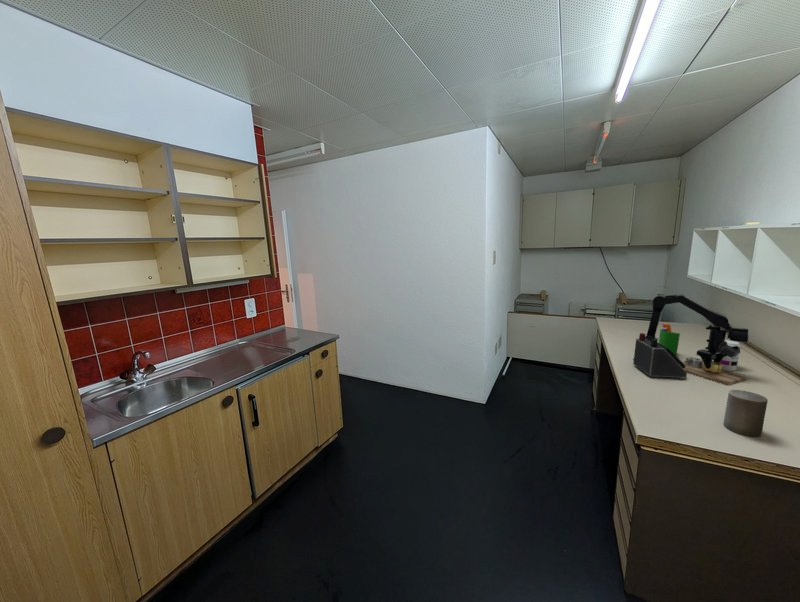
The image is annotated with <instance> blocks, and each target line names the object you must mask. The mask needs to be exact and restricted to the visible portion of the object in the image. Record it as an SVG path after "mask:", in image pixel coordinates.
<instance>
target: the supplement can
mask: <svg viewBox="0 0 800 602" xmlns="http://www.w3.org/2000/svg"><path fill="white" fill-rule="evenodd" d="M725 341H726V342H727V345H728V346H732V347H734V346H738V347H740V348H741V344H740V342H738V341H730V339H725ZM739 357H740V353H739V354H738V355H737V356H736V357H732V358H731V357H729V356H726V357H724V358H723V359H722V361H721V363H720V364H723V365H722V370H724V371H728V372H732V371H733V372H734V371H736V370H737V369H738V364H739Z"/></svg>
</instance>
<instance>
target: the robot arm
mask: <svg viewBox="0 0 800 602" xmlns="http://www.w3.org/2000/svg"><path fill="white" fill-rule="evenodd" d="M679 303H680V304H681V305H683V306H685V307H687V308H688V309H690V310H692V311H694V312H696V313H697V314H700V315H701V316H703V317H704V318H705V319H706V320H707V321H708V322H709V323H710V324H709V325H707V326H705V330H709V335H708V339H706V342H707V346H705V347H704V349H699V350H697V351H696V353H695V354H696V356H699V357H700V359H702V360H703V363H704V364H705V367H706V368H707V369H709V368H710V366H711V363H712V361H714V362H719V363H721V361H722V359H723V358H724V357H726V356H729V357H731V358H732V357H736V356H737V355H738V354H739V355H740V354H741V347H738V346H734V347H732V346H728V345H727V342H726V341H725V340H726V338H727V339H728V340H730V341H735V342H738V343H745V344H746V343H748V341H749V329H748V328H744V327H742V328H741V327H740V328H739V327H733V326H732V324H730V323H729V318H728V317H727V316H726V315H725V314H723V313H720V312H718V311H715V310H711V309H709V308H707V307H705V306H704V305H701V303H698V302H696V301H695V300H693V299H690V298H689V297H687V296H686V295H684V294H671V295H663V294H657V295H655V297H654V298H653V299H652V314H651V318H650V321H649V325H648V329H647V331H646V332H647V333H646V334H645V339H647V340H648V341H650V342H651V339H656V340H658V341H659V338H657V337H656V333H657V330H658V325H659V321H660V318H661V315H662V312H663V309H664V308H665V306H666V305H670V304H671V305H673V304H679ZM726 336H727V337H726ZM632 360H633V361H634V358H633V359H632Z"/></svg>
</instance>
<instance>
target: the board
mask: <svg viewBox="0 0 800 602" xmlns="http://www.w3.org/2000/svg"><path fill="white" fill-rule="evenodd" d="M693 360H697V357H693ZM681 362H682V363H683V364H684V365H685V363H686V360H685V361H681ZM712 364H715V363H712ZM685 366H686V367H685V368H683V369H684V370H685V371H686V372H687V374H689V375H692V374H693V375H692V376H695V375H696V377H698V376H699V378H701V377H703V379H705V380H708V381H711V380H712V381H711V382H714V381H715V383H717V384H720V383H721V384H720V385H724V386H731V385H734V384H737V383H740V382H741V383H742V382H744V381H747V378H748V377H747V376H746V375H741V374H739V373H734V372H732V371H727V370H721V372H720V373H718V372H711V371H706V370H705V369H703V368H700V369H698V368H692V367H688V366H687V365H685Z"/></svg>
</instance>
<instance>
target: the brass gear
mask: <svg viewBox="0 0 800 602" xmlns="http://www.w3.org/2000/svg"><path fill="white" fill-rule="evenodd" d="M712 363H715V364H712ZM712 363H711V366H710V368H709V369H707V368H706V367H705V364H704V362H703V369H705V370H706V371H711V372H718V373H720V372H721V370H722V365H723V364H720V363H719V362H714V360H712Z"/></svg>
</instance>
